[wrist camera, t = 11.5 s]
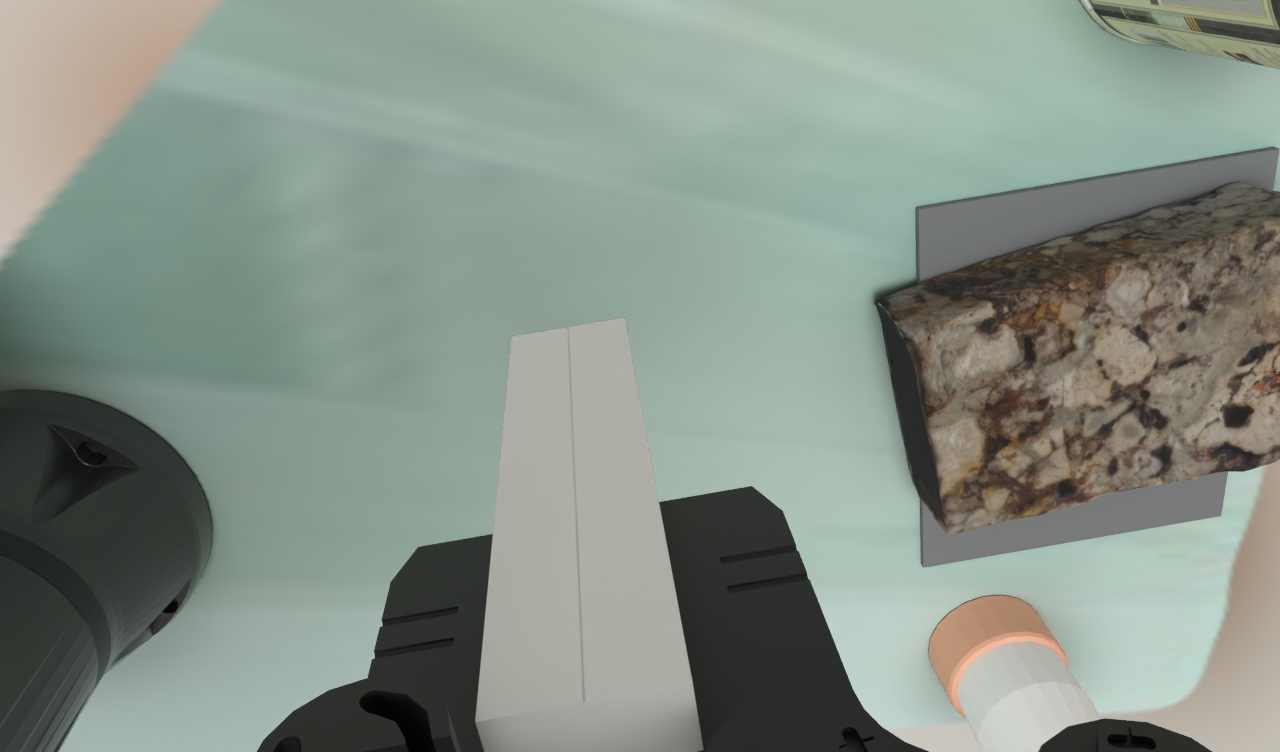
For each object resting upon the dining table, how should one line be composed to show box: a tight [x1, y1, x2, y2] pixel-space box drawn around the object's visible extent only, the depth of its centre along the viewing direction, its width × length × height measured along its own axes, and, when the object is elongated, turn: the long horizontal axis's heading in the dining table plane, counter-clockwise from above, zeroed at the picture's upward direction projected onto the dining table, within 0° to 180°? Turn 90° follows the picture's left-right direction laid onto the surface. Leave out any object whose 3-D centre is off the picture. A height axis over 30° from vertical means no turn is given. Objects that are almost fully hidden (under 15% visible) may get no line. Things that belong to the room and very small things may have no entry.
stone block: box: [875, 183, 1280, 534], centre depth 47 cm, size 13×7×20 cm
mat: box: [916, 147, 1279, 567], centre depth 51 cm, size 18×22×1 cm
